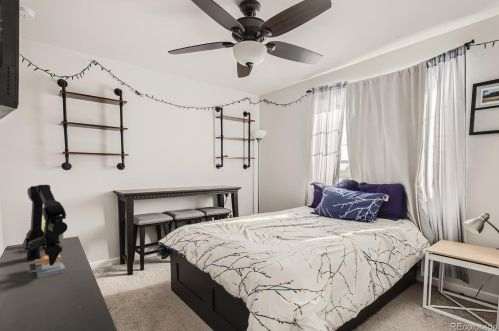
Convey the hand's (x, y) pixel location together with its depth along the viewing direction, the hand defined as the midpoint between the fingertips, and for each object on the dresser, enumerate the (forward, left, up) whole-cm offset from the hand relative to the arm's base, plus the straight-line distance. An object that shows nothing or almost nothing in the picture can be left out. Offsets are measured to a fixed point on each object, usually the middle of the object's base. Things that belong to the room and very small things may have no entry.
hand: (50, 263), depth 120 cm
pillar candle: (-44, +5, -4) cm, 44 cm away
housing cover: (0, 0, +1) cm, 1 cm away
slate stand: (0, 0, -4) cm, 4 cm away
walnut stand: (-13, 0, -4) cm, 14 cm away
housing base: (0, 0, -2) cm, 2 cm away
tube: (-54, -1, -4) cm, 54 cm away
